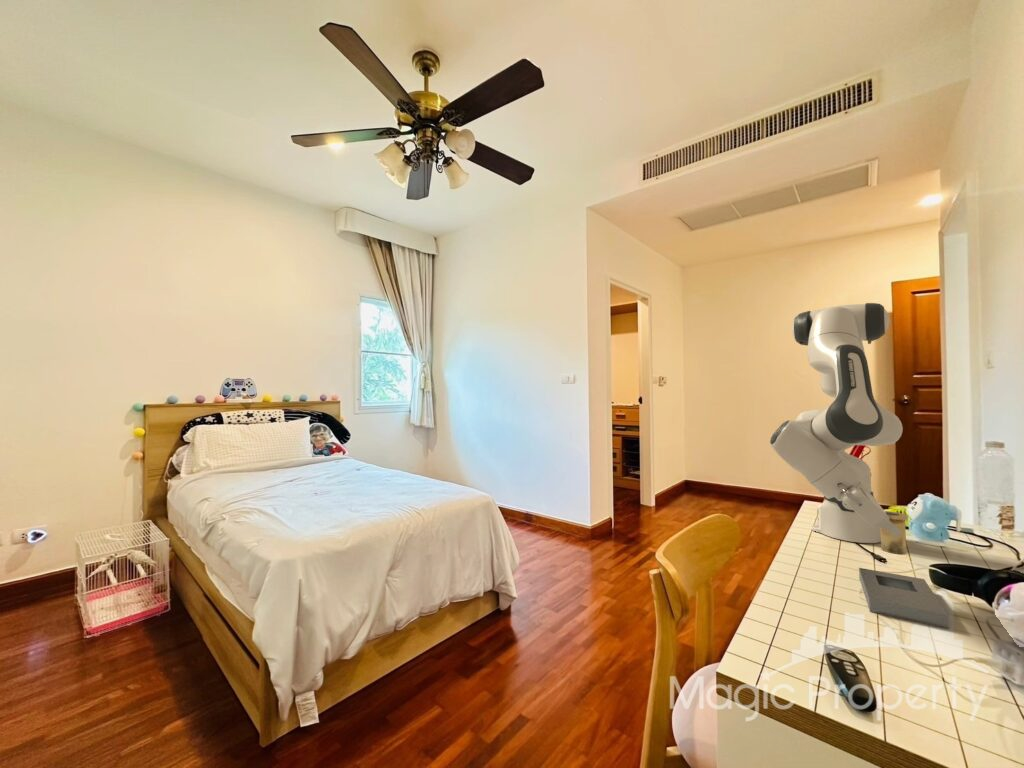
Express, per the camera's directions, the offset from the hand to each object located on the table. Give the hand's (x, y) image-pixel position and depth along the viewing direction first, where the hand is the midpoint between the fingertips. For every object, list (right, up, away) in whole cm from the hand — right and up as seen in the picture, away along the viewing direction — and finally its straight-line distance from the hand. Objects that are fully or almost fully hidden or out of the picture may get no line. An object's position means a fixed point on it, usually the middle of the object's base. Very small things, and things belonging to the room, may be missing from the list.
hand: (896, 531), depth 88 cm
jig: (-2, -14, -2) cm, 14 cm away
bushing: (-1, -4, 0) cm, 4 cm away
